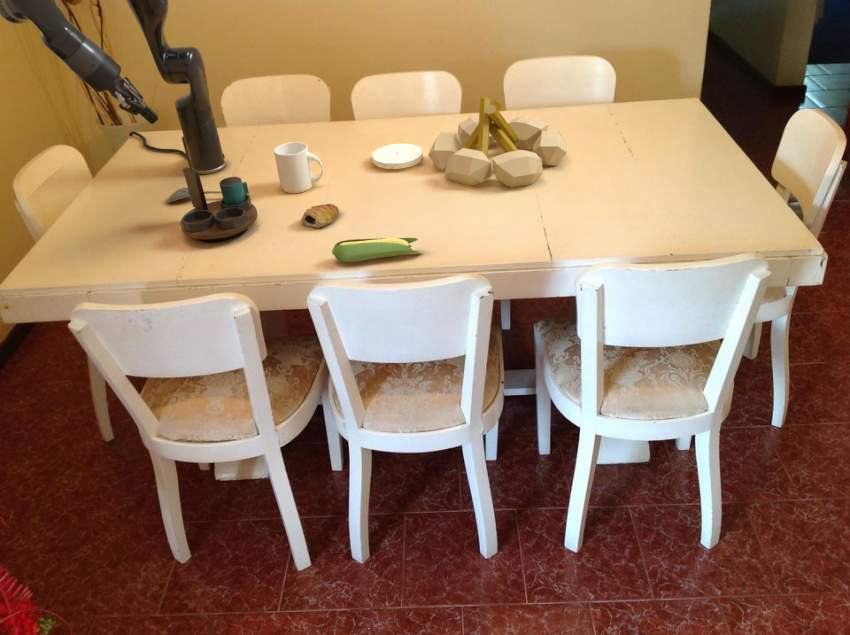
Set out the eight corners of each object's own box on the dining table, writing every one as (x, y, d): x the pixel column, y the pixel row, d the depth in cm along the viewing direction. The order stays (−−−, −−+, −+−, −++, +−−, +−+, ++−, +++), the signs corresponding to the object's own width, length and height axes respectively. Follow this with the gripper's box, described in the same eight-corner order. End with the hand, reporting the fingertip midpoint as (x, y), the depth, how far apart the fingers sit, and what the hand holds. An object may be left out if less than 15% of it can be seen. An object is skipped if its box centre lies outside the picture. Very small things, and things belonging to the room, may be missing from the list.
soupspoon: (175, 195, 195) (165, 208, 190) (171, 184, 193) (161, 196, 188) (253, 191, 192) (246, 204, 187) (250, 180, 190) (242, 192, 185)
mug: (321, 194, 188) (315, 154, 182) (277, 194, 190) (269, 155, 184) (330, 179, 195) (324, 141, 189) (287, 180, 197) (279, 142, 191)
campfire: (479, 131, 216) (477, 72, 207) (584, 150, 199) (588, 88, 189) (408, 175, 194) (402, 112, 184) (520, 201, 177) (520, 134, 167)
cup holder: (273, 215, 175) (264, 172, 168) (209, 247, 164) (197, 201, 158) (227, 196, 186) (217, 154, 179) (164, 224, 175) (151, 181, 169)
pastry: (325, 208, 181) (323, 194, 179) (346, 214, 178) (344, 200, 176) (300, 224, 175) (297, 210, 173) (321, 231, 172) (318, 216, 169)
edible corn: (334, 256, 161) (331, 238, 159) (424, 247, 162) (423, 229, 159) (333, 268, 157) (330, 249, 155) (426, 259, 158) (424, 240, 155)
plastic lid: (413, 174, 195) (412, 165, 193) (365, 170, 199) (363, 161, 197) (430, 153, 205) (429, 145, 204) (383, 150, 209) (382, 142, 208)
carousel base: (182, 236, 174) (180, 229, 173) (220, 213, 183) (218, 206, 182) (223, 247, 169) (221, 239, 167) (260, 222, 178) (258, 215, 176)
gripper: (104, 64, 149) (169, 123, 161) (104, 40, 158) (165, 97, 170) (78, 88, 150) (144, 144, 162) (79, 63, 160) (142, 117, 172)
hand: (155, 120), depth 166 cm, fingers closed
